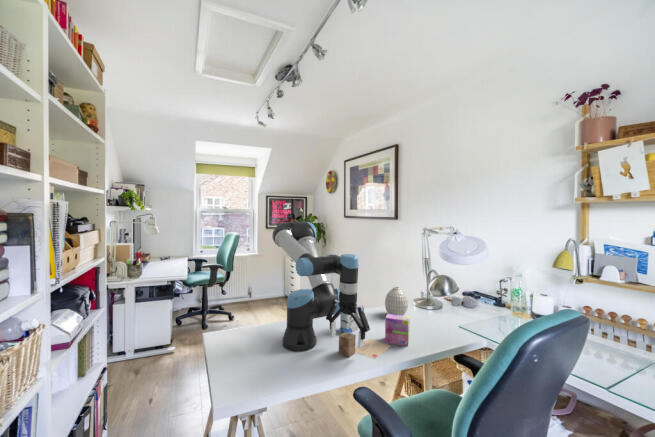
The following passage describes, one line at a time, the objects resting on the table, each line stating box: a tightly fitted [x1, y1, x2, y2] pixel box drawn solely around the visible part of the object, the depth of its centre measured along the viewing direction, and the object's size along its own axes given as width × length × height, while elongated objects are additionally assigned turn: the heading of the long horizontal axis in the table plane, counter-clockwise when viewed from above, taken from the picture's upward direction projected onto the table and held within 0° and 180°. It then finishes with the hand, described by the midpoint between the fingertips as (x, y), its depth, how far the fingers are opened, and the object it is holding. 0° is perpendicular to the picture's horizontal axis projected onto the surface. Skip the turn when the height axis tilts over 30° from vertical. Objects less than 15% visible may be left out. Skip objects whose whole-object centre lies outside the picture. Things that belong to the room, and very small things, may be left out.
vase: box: [384, 286, 409, 316], centre depth 171 cm, size 13×13×17 cm
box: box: [384, 313, 411, 347], centre depth 138 cm, size 10×6×12 cm, turn 70°
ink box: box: [339, 309, 359, 334], centre depth 150 cm, size 9×5×12 cm, turn 131°
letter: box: [355, 338, 391, 360], centre depth 131 cm, size 11×15×1 cm
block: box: [338, 332, 357, 359], centre depth 126 cm, size 5×5×8 cm
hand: (346, 341), depth 126 cm, fingers open, 13 cm apart
